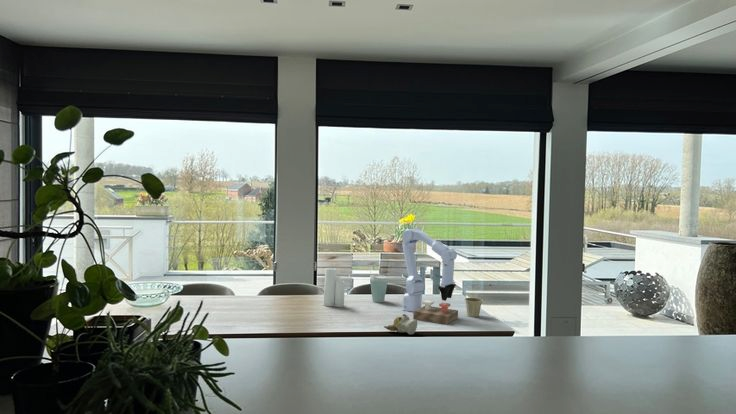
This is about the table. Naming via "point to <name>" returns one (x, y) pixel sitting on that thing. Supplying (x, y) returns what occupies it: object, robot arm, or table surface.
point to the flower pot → (473, 306)
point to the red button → (444, 307)
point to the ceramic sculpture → (403, 325)
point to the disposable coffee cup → (378, 287)
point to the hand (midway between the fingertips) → (446, 299)
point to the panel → (435, 315)
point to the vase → (333, 288)
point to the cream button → (428, 304)
